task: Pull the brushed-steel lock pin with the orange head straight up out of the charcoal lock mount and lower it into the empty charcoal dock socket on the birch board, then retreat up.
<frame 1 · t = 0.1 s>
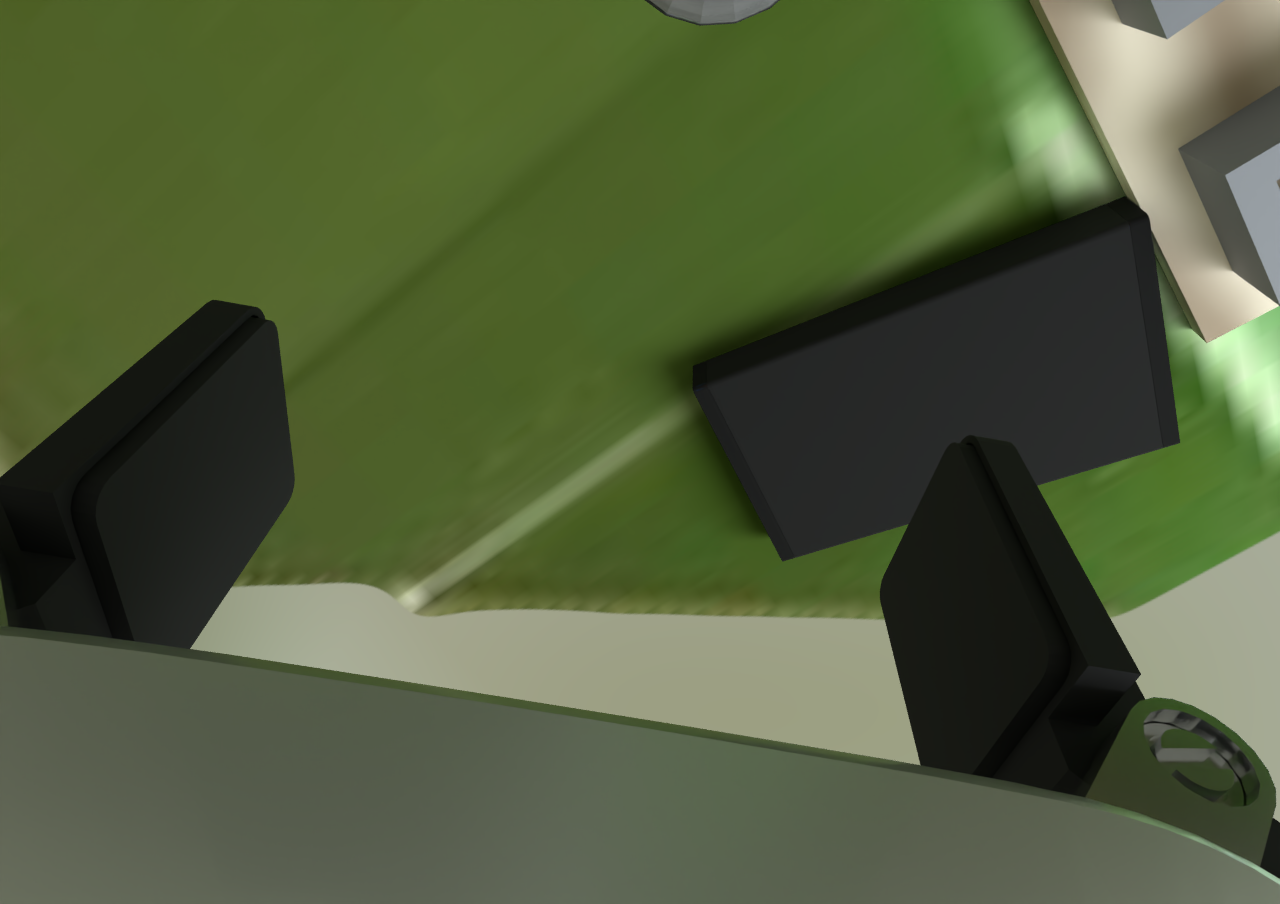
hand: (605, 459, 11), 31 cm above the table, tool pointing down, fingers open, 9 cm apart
dock board: (1225, 22, 34), on the table
external hard drive: (922, 387, 46), on the table
dock socket: (1275, 152, 37), resting on dock board
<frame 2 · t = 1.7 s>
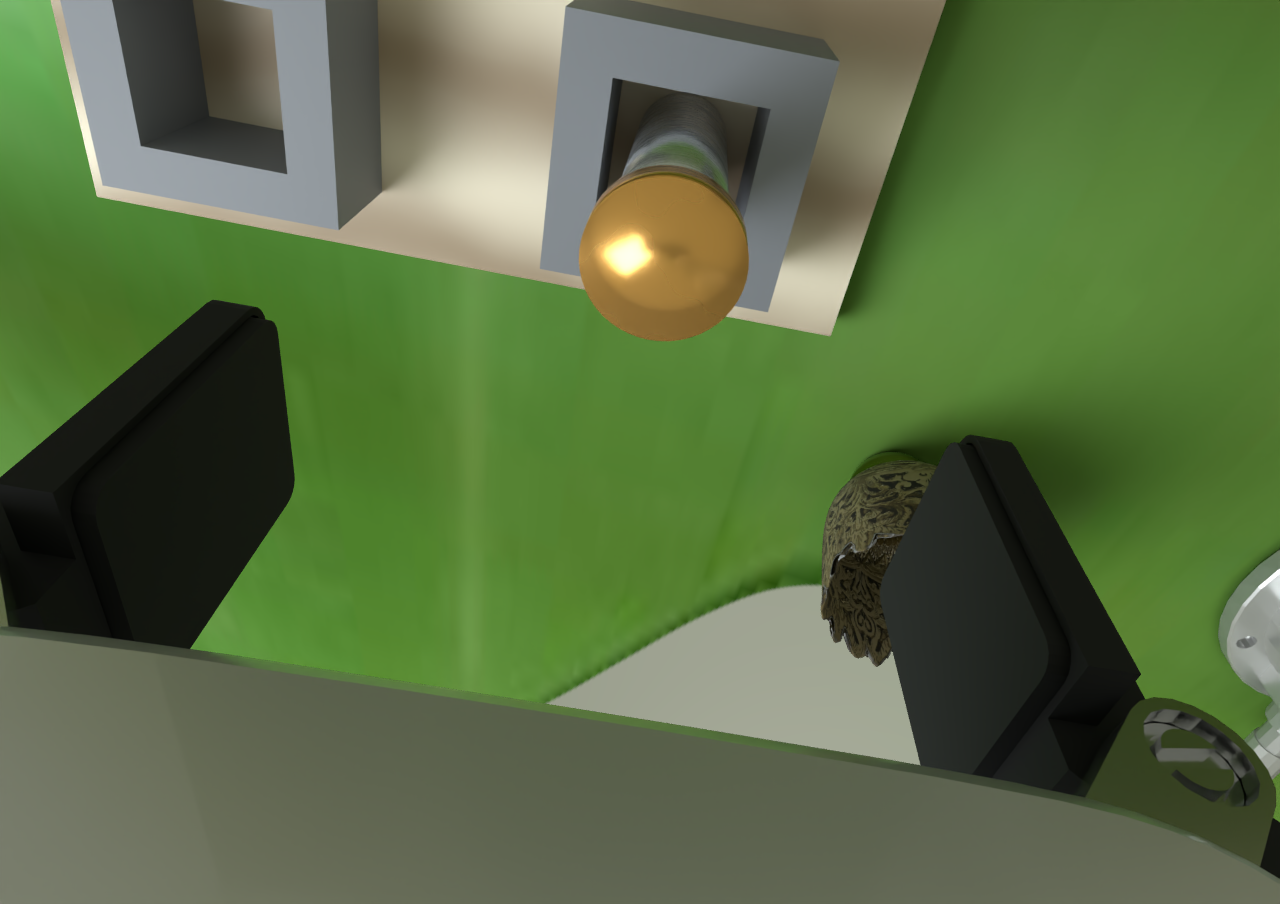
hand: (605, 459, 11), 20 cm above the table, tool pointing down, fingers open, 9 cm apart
cup: (886, 475, 36), on the table
dock board: (486, 90, 28), on the table
lock pin: (681, 140, 27), point 1 cm above the table, touching dock board
dock socket: (287, 51, 27), resting on dock board
lock mount: (683, 129, 28), resting on dock board
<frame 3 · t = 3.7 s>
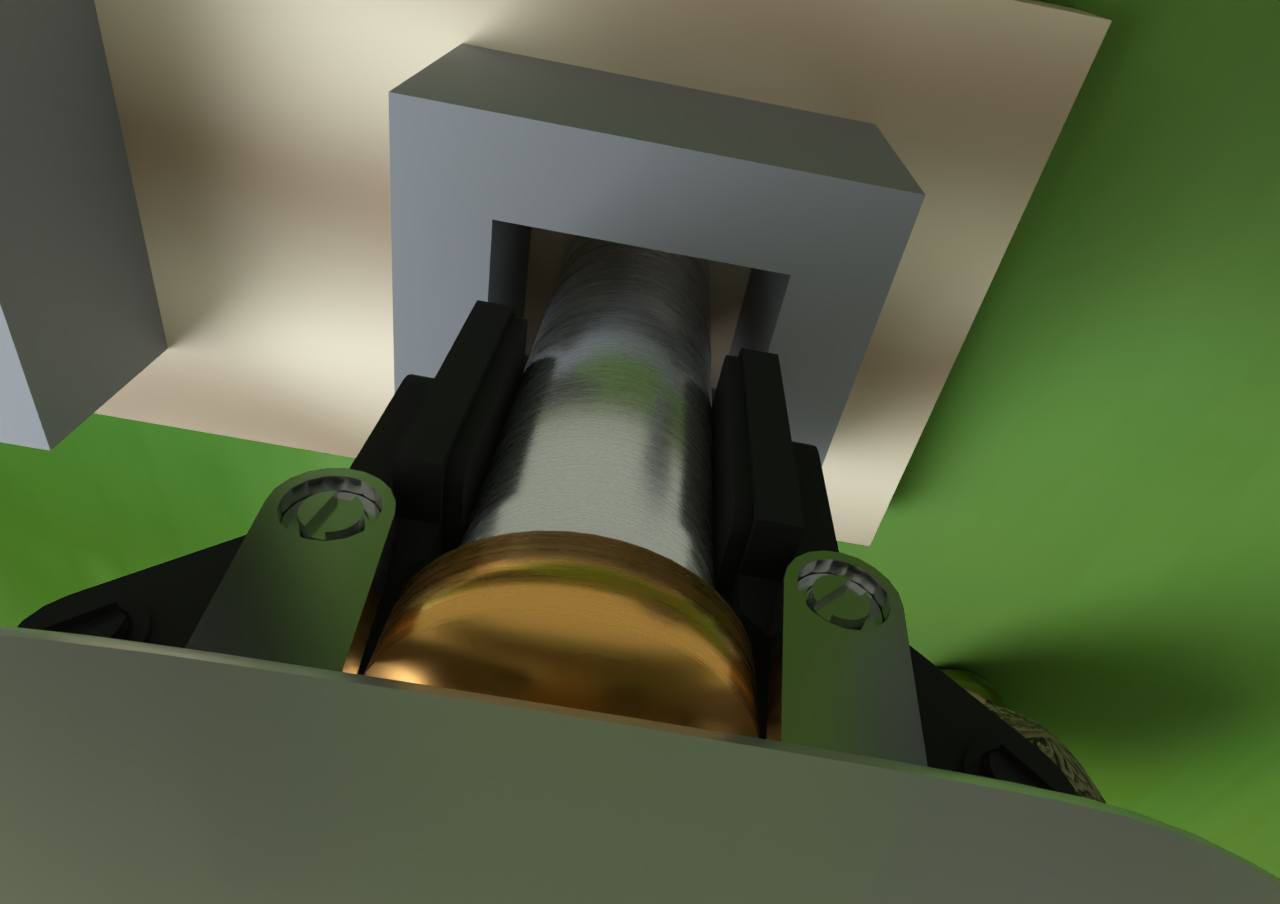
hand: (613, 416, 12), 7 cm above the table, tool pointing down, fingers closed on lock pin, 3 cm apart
cup: (937, 691, 26), on the table
dock board: (324, 192, 17), on the table
lock pin: (636, 278, 16), point 1 cm above the table, touching dock board, gripper
lock mount: (641, 250, 18), resting on dock board
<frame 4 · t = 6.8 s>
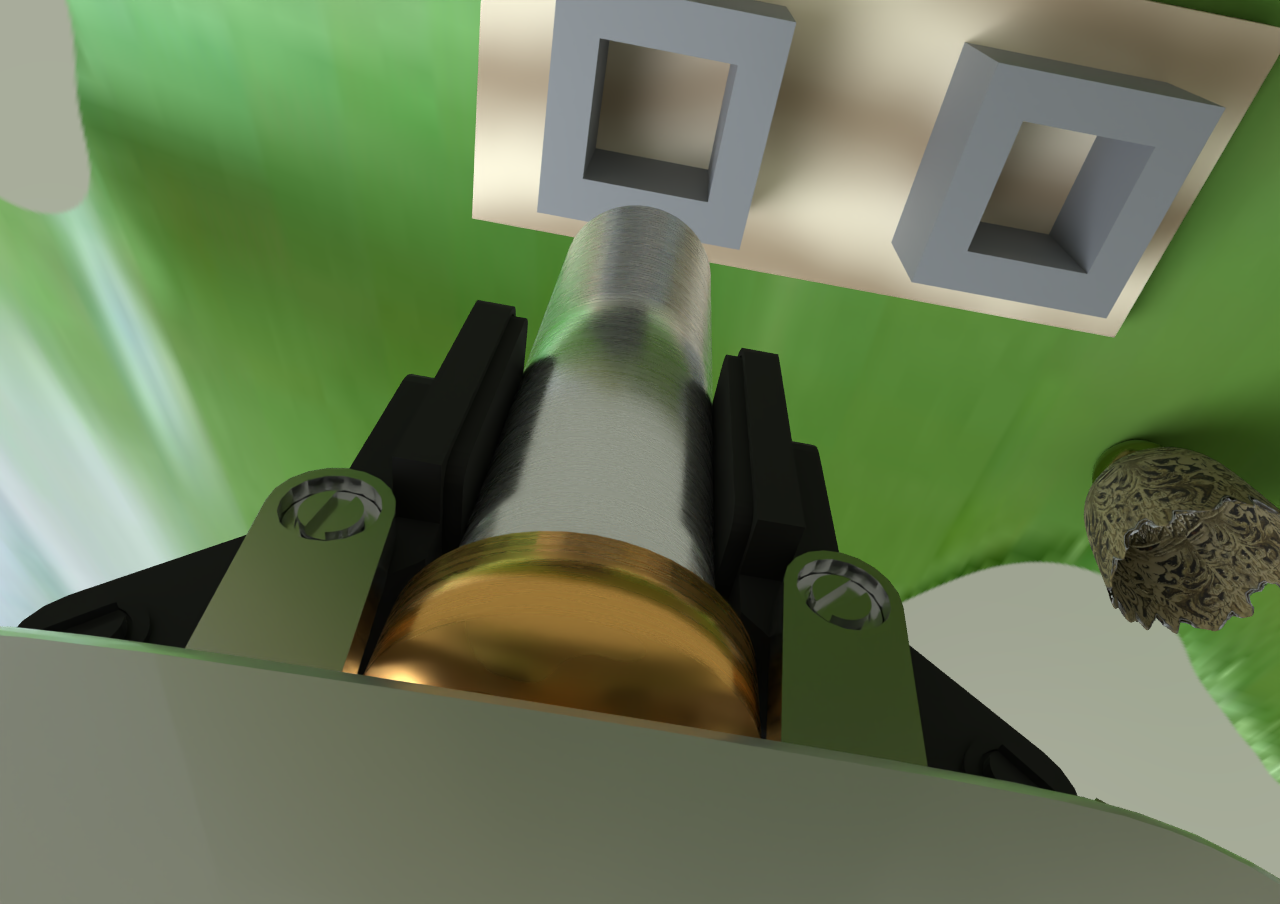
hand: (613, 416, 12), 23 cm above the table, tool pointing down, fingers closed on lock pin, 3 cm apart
cup: (1124, 461, 40), on the table
dock board: (837, 123, 31), on the table
lock pin: (637, 277, 16), point 18 cm above the table, touching gripper
dock socket: (664, 90, 31), resting on dock board
lock mount: (1007, 157, 32), resting on dock board
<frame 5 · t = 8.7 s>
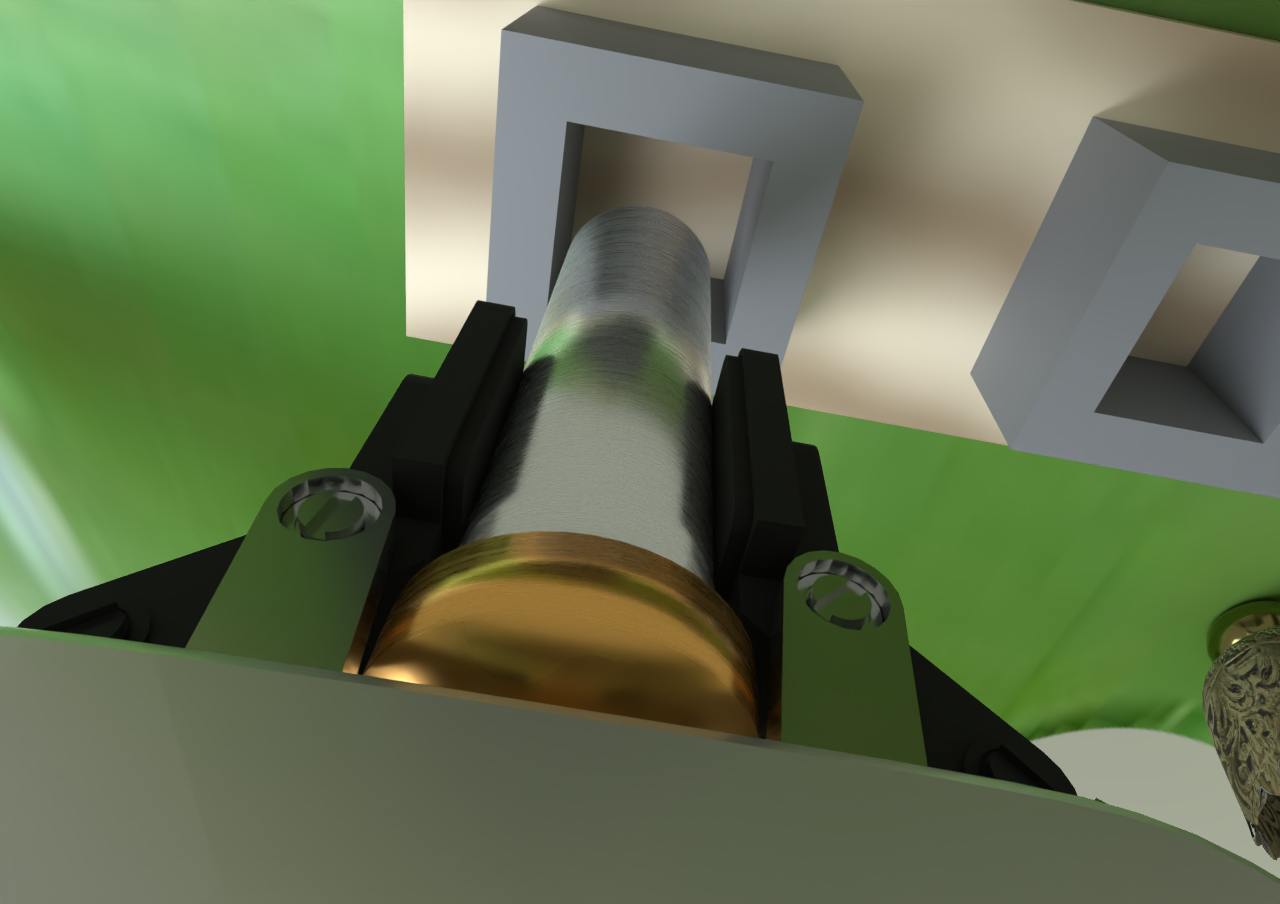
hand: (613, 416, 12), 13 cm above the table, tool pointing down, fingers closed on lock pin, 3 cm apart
cup: (1246, 621, 31), on the table
dock board: (900, 217, 23), on the table
lock pin: (636, 277, 16), point 8 cm above the table, touching gripper
dock socket: (663, 171, 23), resting on dock board
lock mount: (1131, 261, 23), resting on dock board
when the fingers open (8 cm above the table, at t = 10.1 s): lock pin stays where it is, resting on dock board.
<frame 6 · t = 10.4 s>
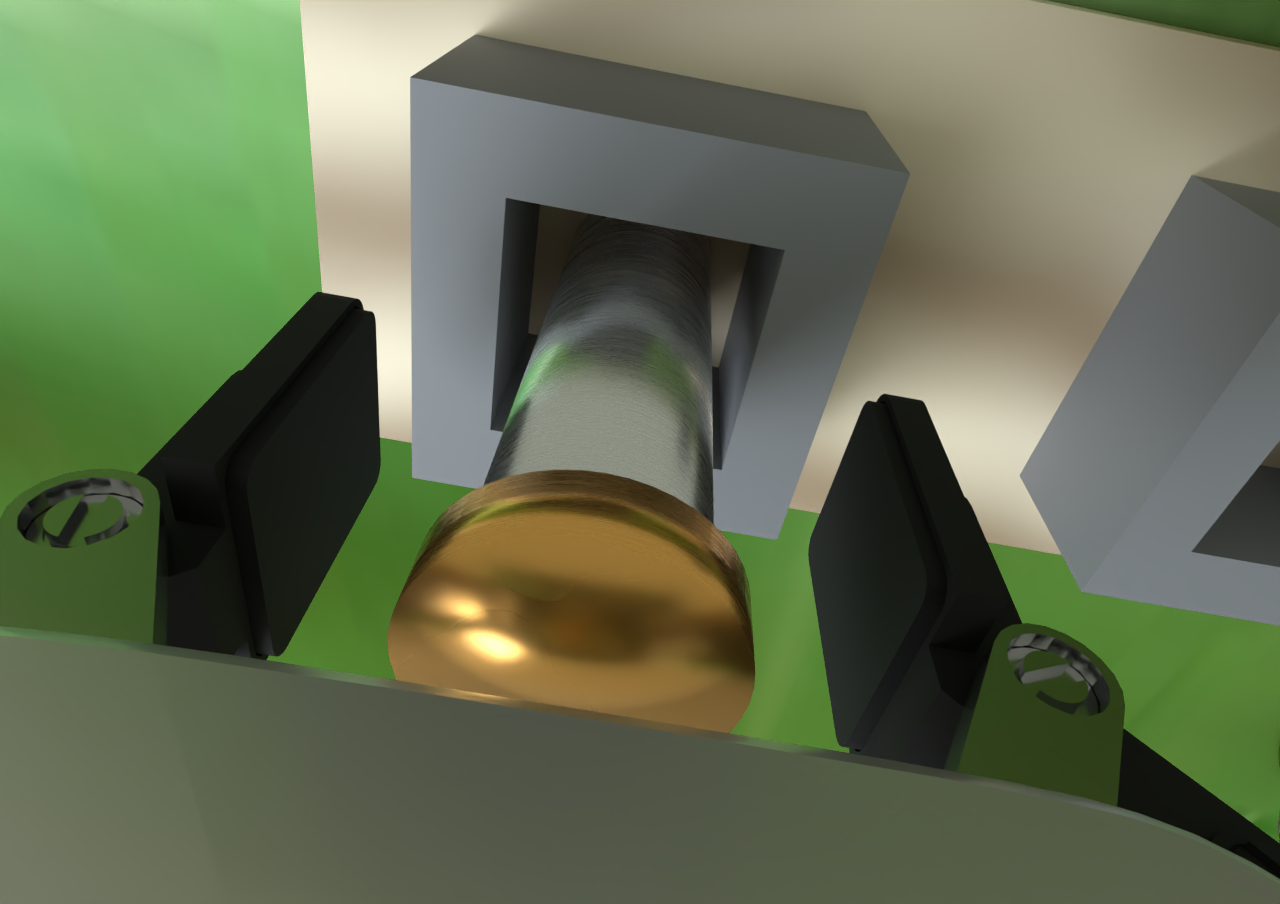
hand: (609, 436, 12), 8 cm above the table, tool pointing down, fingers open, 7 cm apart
dock board: (936, 289, 19), on the table
lock pin: (641, 260, 17), point 2 cm above the table, touching dock board
dock socket: (644, 234, 18), resting on dock board
lock mount: (1219, 342, 19), resting on dock board
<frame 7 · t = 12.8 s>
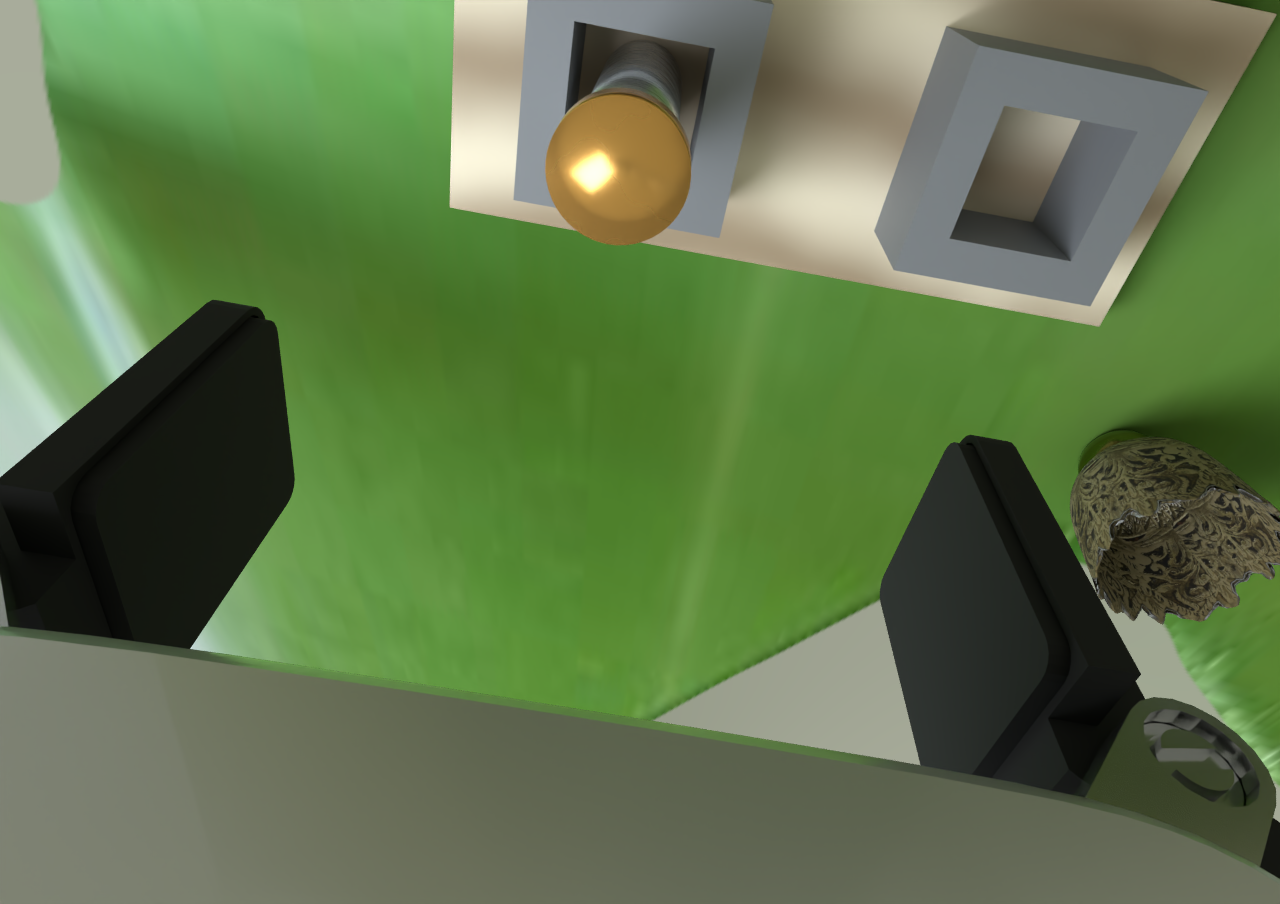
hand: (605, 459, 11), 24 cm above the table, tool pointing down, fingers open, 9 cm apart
cup: (1110, 451, 40), on the table
dock board: (819, 110, 31), on the table
lock pin: (641, 84, 29), point 2 cm above the table, touching dock board
dock socket: (643, 76, 31), resting on dock board
lock mount: (991, 143, 31), resting on dock board
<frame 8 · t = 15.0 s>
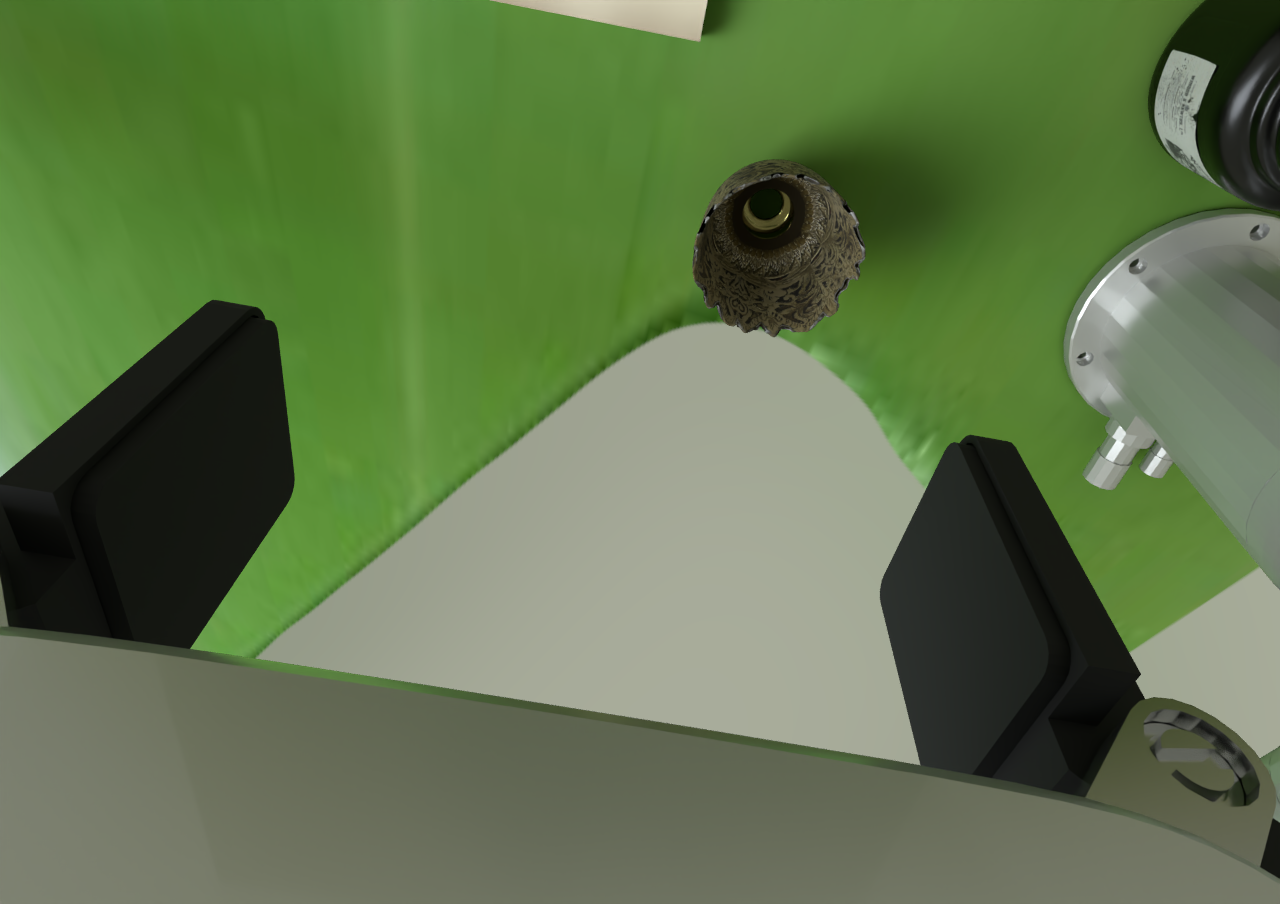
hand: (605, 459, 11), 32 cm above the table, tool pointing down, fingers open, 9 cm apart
cup: (765, 202, 41), on the table
ink bottle: (1247, 69, 36), on the table
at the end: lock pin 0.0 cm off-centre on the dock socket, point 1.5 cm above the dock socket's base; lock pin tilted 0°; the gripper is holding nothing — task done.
